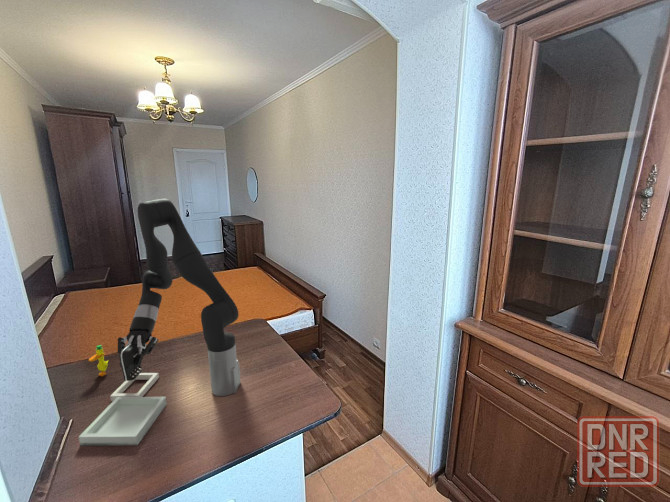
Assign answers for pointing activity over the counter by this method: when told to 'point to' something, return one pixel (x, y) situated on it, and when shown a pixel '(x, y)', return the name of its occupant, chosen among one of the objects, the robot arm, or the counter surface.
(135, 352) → the battery charger
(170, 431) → the counter surface
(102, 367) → the toy figure
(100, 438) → the tray
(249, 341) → the counter surface
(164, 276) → the robot arm
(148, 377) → the white rectangular frame
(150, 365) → the counter surface
